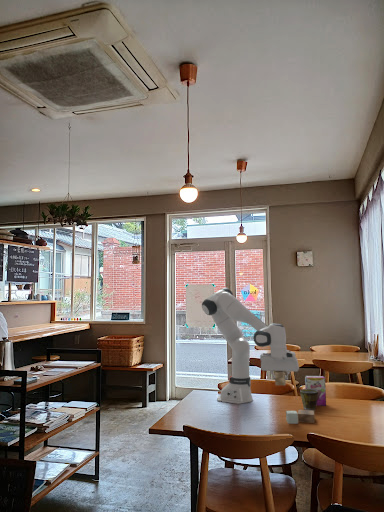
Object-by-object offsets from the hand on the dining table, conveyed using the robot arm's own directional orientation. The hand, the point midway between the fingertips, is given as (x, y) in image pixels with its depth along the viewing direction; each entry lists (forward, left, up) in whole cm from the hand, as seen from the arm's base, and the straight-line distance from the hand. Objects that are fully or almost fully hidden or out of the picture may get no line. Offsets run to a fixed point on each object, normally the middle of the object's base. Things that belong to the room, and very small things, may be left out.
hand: (280, 379), depth 209 cm
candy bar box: (+18, +29, -20) cm, 39 cm away
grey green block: (+6, -8, -20) cm, 22 cm away
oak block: (0, 0, -3) cm, 3 cm away
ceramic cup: (+14, +18, -20) cm, 30 cm away
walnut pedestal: (+13, -3, -20) cm, 24 cm away
